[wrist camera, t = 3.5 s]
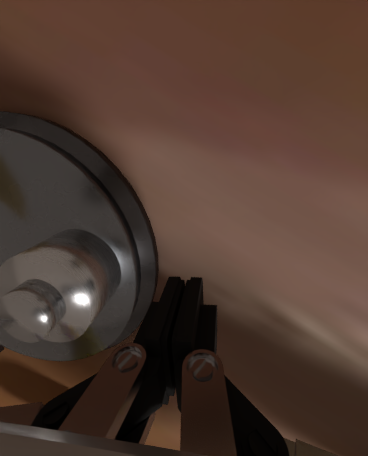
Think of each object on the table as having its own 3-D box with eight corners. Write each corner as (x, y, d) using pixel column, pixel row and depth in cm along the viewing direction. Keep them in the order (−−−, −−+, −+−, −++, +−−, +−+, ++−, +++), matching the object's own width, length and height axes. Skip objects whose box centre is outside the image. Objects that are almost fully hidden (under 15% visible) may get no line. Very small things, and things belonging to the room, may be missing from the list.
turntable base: (140, 97, 15) (135, 95, 14) (169, 358, 22) (166, 366, 21) (-114, 125, 19) (-130, 124, 18) (-19, 336, 26) (-27, 343, 25)
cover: (114, 229, 15) (57, 270, 10) (126, 303, 17) (84, 369, 12) (36, 228, 17) (-49, 266, 11) (57, 298, 19) (-8, 357, 13)
